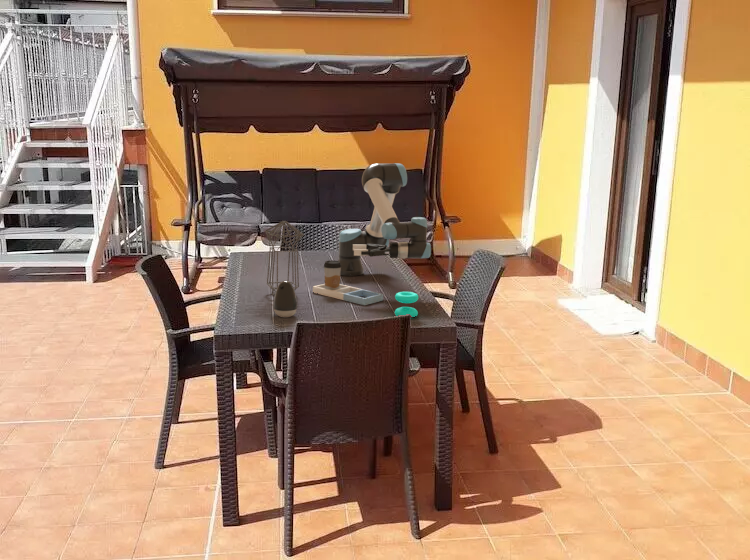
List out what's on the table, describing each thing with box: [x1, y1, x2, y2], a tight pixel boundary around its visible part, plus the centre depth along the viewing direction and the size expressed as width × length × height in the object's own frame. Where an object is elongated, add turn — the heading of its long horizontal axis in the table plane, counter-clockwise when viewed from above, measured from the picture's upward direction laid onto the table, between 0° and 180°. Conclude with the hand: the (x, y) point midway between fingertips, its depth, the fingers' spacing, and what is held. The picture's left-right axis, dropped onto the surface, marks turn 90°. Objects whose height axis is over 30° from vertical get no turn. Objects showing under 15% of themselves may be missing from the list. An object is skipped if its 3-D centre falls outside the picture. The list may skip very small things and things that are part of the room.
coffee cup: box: [323, 260, 341, 290], centre depth 366 cm, size 8×8×15 cm
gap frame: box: [312, 283, 384, 306], centre depth 361 cm, size 13×33×3 cm, turn 49°
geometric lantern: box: [263, 220, 305, 297], centre depth 358 cm, size 16×16×35 cm
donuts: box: [394, 291, 420, 318], centre depth 329 cm, size 10×10×10 cm
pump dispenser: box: [272, 280, 298, 318], centre depth 324 cm, size 10×10×15 cm
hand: (353, 249), depth 364 cm, fingers open, 13 cm apart
